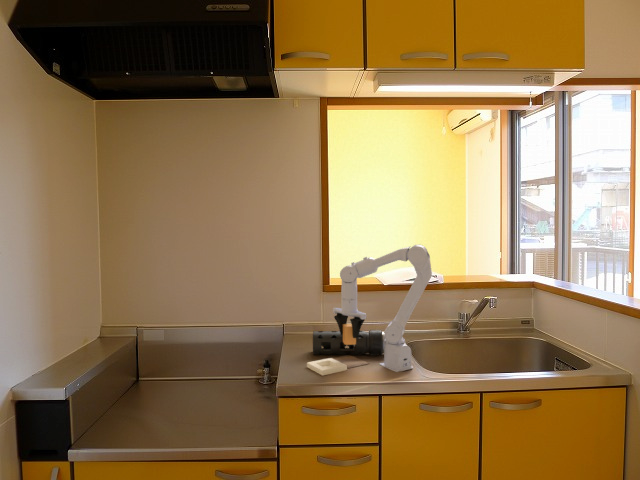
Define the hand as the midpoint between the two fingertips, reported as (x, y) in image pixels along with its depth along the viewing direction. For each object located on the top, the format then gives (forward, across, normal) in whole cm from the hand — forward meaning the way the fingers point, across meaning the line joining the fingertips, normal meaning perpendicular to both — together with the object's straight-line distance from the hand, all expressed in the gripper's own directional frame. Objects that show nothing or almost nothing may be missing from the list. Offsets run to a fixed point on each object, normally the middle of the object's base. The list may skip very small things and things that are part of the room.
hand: (349, 336), depth 165 cm
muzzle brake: (+5, +11, -12) cm, 16 cm away
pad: (+10, 0, 0) cm, 10 cm away
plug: (+3, 0, 0) cm, 3 cm away
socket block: (+10, 0, +11) cm, 15 cm away
